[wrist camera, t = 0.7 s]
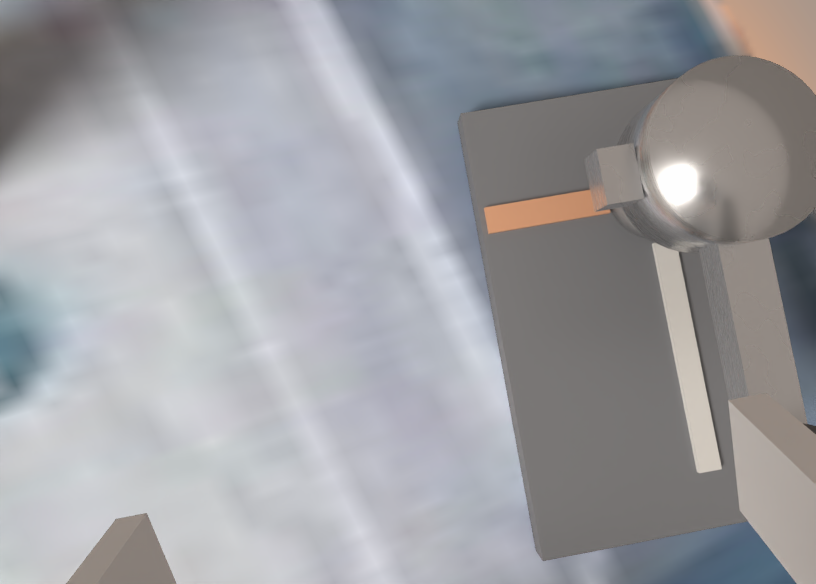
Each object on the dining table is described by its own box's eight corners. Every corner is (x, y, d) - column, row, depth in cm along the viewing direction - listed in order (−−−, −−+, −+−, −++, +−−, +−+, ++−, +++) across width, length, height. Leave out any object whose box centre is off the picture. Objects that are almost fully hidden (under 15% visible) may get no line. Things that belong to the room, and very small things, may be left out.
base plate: (765, 506, 33) (839, 541, 28) (536, 550, 33) (565, 595, 27) (680, 86, 35) (735, 41, 29) (457, 122, 34) (470, 83, 29)
